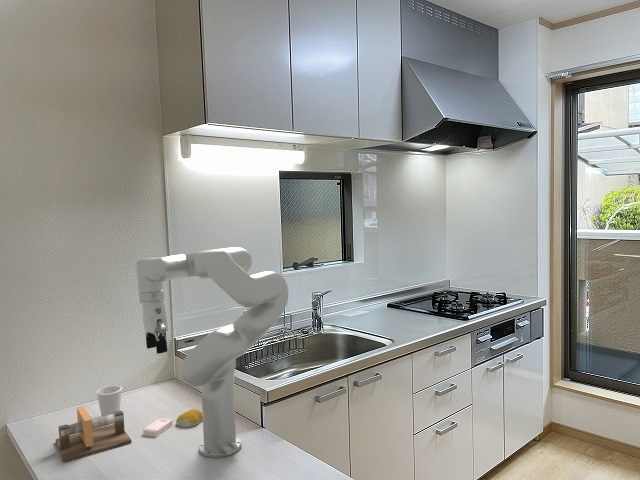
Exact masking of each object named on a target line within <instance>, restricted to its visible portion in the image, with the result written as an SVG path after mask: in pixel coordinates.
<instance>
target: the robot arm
mask: <svg viewBox="0 0 640 480" xmlns="http://www.w3.org/2000/svg"><path fill="white" fill-rule="evenodd" d="M135 263H136V264H135V266H136V267H135V269H136V278H137V288H138V289H137V290H138V299H139V300H138V301H139V304H141V305H142V321H143V329H144V331H145V341H146V342H145V343H146V344H145V345H146V349H148V350H149V349H153V348H155V350H156V354H157V355H159V354H163V353H167V352H168V343H167V333H166V332H168V331H169V326H168V325H169V324H168V317H167V312H166V311H167V310H166V306H165V303H164V301H165V289H164V288H165V287H164V282H169V281H172V280H173V281H174V280H178V279H183V278H191V277H198V278H200V279H201V280H202V279H203V280H212V281H213V282H214V283H215V284H216V285H217V286H218V287H219V288H221V290H222V291H224V292H225V293H226V294H227V296H229V297H230V298H231V299H232V300H233V301H234V302H235V303H236V304H238V305H240V306H241V307H244V308H246V309H245V311H244V312H243V313H241V315H240V316H238V318H237V319H236V320H234V321H233V322H232V323H230V324H228V325H226V326H222V327H221V328H218V329H215V330H212V331H211V332H209V333H208V334H206V335H205V337H203V338H202V339H201V340H200V341H199V342H198V343H197V344H196V345H195V347H194V348H193V349H191V350H190V352H189V353H187V355H186V356H185V358H184V359H183V361H182V363H181V367H180V368H181V369H180V374H181V378H182V379H183V380H184V382H185V383H186V384H187V385H189V386H192V387H201V412H202V414H203V421H202V431H203V441H201V442H200V444H199V446H198V452H199V454H201V455H202V456H203V457H206V458H212V459H214V458H216V459H217V458H223V457H224V458H225V457H228V456H231V455H233V454H235V453H237V452H238V451H239V450H240V449H241V448H242V440H241V438H239V437H238V436H237V432H236V431H237V429H236V428H237V427H236V412H235V411H236V409H235V383H234V382H235V371H236V363H237V358H239V357H242V356H243V355H245V354H246V353H247V352H249V350H250V349H251V348H252V347H253V346H254V345H255V344H256V343H257V342H258V341H259V340H260V339H261V338H262V337H263V336H264V335H265V334H266V333H267V331H269V330H270V329H271V328H272V327H273V326H274V325H275V324H276V323H277V322H278V321H279V319H280V318H281V316H282V315H283V314H284V312H285V310H286V308H287V306H288V300H289V287H288V282H287V281H286V279H285V278H284V276H283V275H281V274H280V273H278V272H275V271H268V270H267V271H262V272H257V273H253V274H248V272H249V271H250V269H251V267H252V264H253V259H252V256H251V254H250V253H249V251H248V250H246V249H245V248H243V247H225V248H215V249H208V250H200V251H199V252H191V253H181V254H174V255H173V254H172V255H167V256H160V257H145V258H140V259H138V260H137V261H136V262H135Z"/></svg>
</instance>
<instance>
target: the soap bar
mask: <svg viewBox="0 0 640 480" xmlns="http://www.w3.org/2000/svg"><path fill="white" fill-rule="evenodd" d="M171 427H173V419H169V418H158V419H156V420H155V421H153V422H152V423H150V424H149V425H147V426H146V427H145V428H143V430H142V434H143V436H145V437H154V438H157V437H158V436H160V435H162V434H163V433H164V432H165V431H167V430H169V429H170V428H171Z"/></svg>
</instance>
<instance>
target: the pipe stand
mask: <svg viewBox="0 0 640 480" xmlns="http://www.w3.org/2000/svg"><path fill="white" fill-rule="evenodd" d="M124 414H125V413H124V412H123V411H122V410H121V409H120V411H117V412H114V414H110V415H106V416H99V417H95V418H91V419H92V429H93V444H94V445H92V446H89V447H86V446H85V444H84V442H83V440H82V438H81V436H80V434H79V432H83V427H82V422H78V421H77V422H75V423H71V424H67V423H66V424H63V425H59V426H58V435H59V436H58V438H56V439H55V443H56V447H57V449H58V452H59V455H60V457H61V459H62V462H63V463H67V462H69V461H74V460H77V459H80V458H85V457H88V456H91V455H94V454H93V453H95V454H98V453H101V451H102V452H105V451H108V449H109V450H112V449H115V448H118V447H119V448H120V447H122V446H125V445H129V444H132V439H131V437H130V436H129V435H128V434H127V432H126V431H125V430H126V429H125V419H124V418H125V417H124V416H125V415H124ZM104 450H105V451H104ZM97 452H98V453H97ZM90 454H91V455H90ZM87 455H88V456H87ZM84 456H85V457H84Z"/></svg>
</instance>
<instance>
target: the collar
mask: <svg viewBox="0 0 640 480" xmlns="http://www.w3.org/2000/svg"><path fill="white" fill-rule="evenodd" d="M76 415H77V423H78V422H82V427H83V432H79V434H80V436H81V438H82V440H83V442H84V444H85V446H86V447H89V446H92V445H94V444H93V429H92V419H93V418H92V417H91V416H90V414H89V412H88V410H87V409H86V408H85V406H79V407H76Z"/></svg>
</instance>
